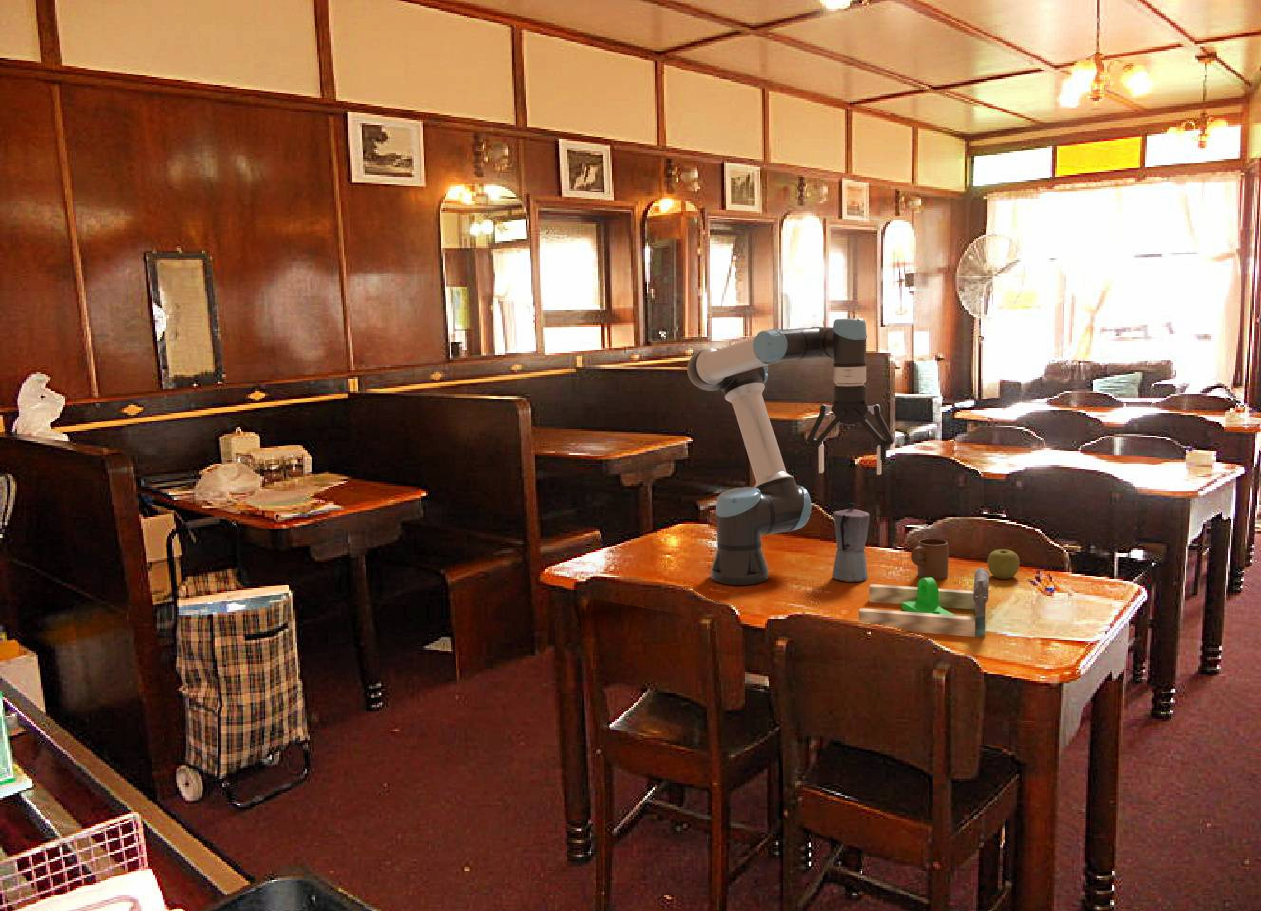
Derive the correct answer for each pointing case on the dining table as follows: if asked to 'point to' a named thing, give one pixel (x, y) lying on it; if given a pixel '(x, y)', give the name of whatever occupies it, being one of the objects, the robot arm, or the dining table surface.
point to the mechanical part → (926, 599)
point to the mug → (931, 558)
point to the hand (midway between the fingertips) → (849, 473)
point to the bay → (932, 621)
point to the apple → (1003, 563)
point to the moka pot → (851, 544)
